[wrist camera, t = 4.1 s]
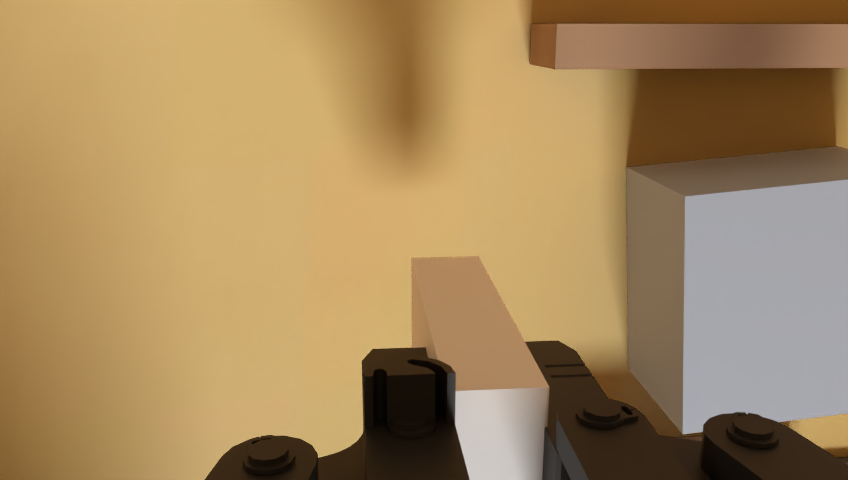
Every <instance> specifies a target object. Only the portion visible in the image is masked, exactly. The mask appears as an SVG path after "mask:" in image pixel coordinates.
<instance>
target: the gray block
mask: <svg viewBox="0 0 848 480" xmlns="http://www.w3.org/2000/svg"><path fill="white" fill-rule="evenodd" d="M626 222H627V312H628V370H629V371H630V372H631V374H632V375H633V376H634V377H635V378H636V380H637V381H638V382H639V383H640V384H641V385H642V387H643V388H644V389H645V390H646V391H647V393H648V394H649V395H650V396H651V397H652V399H653V400H654V401H655V402H656V403H657V405H658V406H659V407H660V408H661V409H662V410H663V412H664V413H665V414H666V415H667V416H668V418H669V419H670V420H671V421H672V422H673V424H674V425H675V426H676V427H677V428H678V430H679V431H680V432H681V433H682V434H690V433H698V432H703V425H704V424H705V422H706V421H707V420H708V419H709V418H711V417H714V416H717V415H720V414H728V413H735V412H746V414H748V413H753V414H758V415H760V416H761V417H764V418H768V419H771V420H774V421H776V422H784V421H792V420H800V419H808V418H816V417H823V416H831V415H839V414H847V413H848V149H845V148H841V147H837V146H833V147H823V148H813V149H803V150H793V151H783V152H773V153H763V154H753V155H743V156H733V157H723V158H713V159H703V160H693V161H682V162H672V163H662V164H652V165H642V166H632V167H626Z"/></svg>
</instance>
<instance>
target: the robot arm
mask: <svg viewBox="0 0 848 480" xmlns="http://www.w3.org/2000/svg"><path fill="white" fill-rule="evenodd" d="M362 386H363V434H362V436H361V437H360V438H359V440H358V441H357V442H355V443H354V444H353V445H352V446H350V447H348V448H346V449H344V450H342V451H340V452H338V453H335V454H331V455H328V456H324V457H320V458H318V454H317V452H316V451H315V449H314V448H313V446H312V445H311V444H309V443H307V442H305V441H303V440H301V439H298V438H293V437H288V436H273V435H267V436H261V437H260V438H259V437H256V438H252V439H249V440H247V441H245V442H243V443H240V444H238V445H236V446H234V447H232V448H231V449H230V450H229V451H228V452H226V453H225V454H224V455H223V456H222V457H221V458H220V460H219V461H218V462H217V464H216V465H215V467H214V468H213V469H212V471H211V472H210V473H209V475H208V476H207V477H206V479H205V480H848V465H847V464H846V463H844V462H843V461H841V460H839V459H838V458H836V457H835V456H833V455H831V454H830V453H828V452H827V451H825V450H824V449H822V448H820V447H819V446H817V445H816V444H814V443H813V442H811V441H809V440H808V439H806V438H805V437H803V436H802V435H800V434H798V433H797V432H795V431H794V430H792V429H790V428H789V427H787V426H785V425H783V424H781V423H779V422H776V421H774V420H771V419H768V418H764V417H761V416H760V415H758V414H753V413H748V414H746V412H735V413H728V414H720V415H717V416H714V417H711V418H709V419H708V420H707V421H706V422H705V424H704V425H703V433H702V441H696V440H688V439H680V438H672V437H667V436H661V435H658V433H657V432H656V431H655V429H654V428H653V427H652V425H651V424H650V423H649V421H648V420H647V418H646V417H645V416H644V415H643V414H642V413H641V412H640V411H638V410H637V409H636V408H634V407H632V406H630V405H628V404H625V403H623V402H620V401H616V400H611V399H608V397H607V396H606V394H605V393H604V391H603V390H602V389H601V387H600V386H599V384H598V383H597V381H596V380H595V378H594V377H592V374H591V372H590V371H589V369H588V368H587V367H586V366H585V364H584V362H583V361H582V359H581V358H580V356H579V355H578V353H577V352H576V351H575V350H573V349H571V348H570V347H568V346H566V345H565V344H563V343H561V342H559V341H534V342H525V341H524V339H523V338H522V336H521V334H520V332H519V330H518V328H517V327H516V325H515V323H514V321H513V319H512V317H511V315H510V314H509V312H508V310H507V308H506V306H505V304H504V303H503V301H502V299H501V297H500V295H499V293H498V292H497V290H496V288H495V286H494V284H493V282H492V280H491V279H490V277H489V275H488V273H487V271H486V269H485V268H484V266H483V264H482V262H481V260H480V258H479V257H478V256H471V257H431V258H412V348H390V349H372V350H371V352H370V353H369V354H368V355H367V356H366V357H365V358H364V359H363V360H362Z"/></svg>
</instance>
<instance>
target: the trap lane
mask: <svg viewBox="0 0 848 480" xmlns="http://www.w3.org/2000/svg"><path fill="white" fill-rule="evenodd" d="M530 64H532V65H537V66H542V67H547V68H551V69H706V68H848V24H531V44H530ZM679 438H680V439H688V440H696V441H702V436H698V437H679ZM838 459H839V460H841V461H843V462H844V463H846V464H847V465H848V457H846V458H838Z"/></svg>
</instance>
